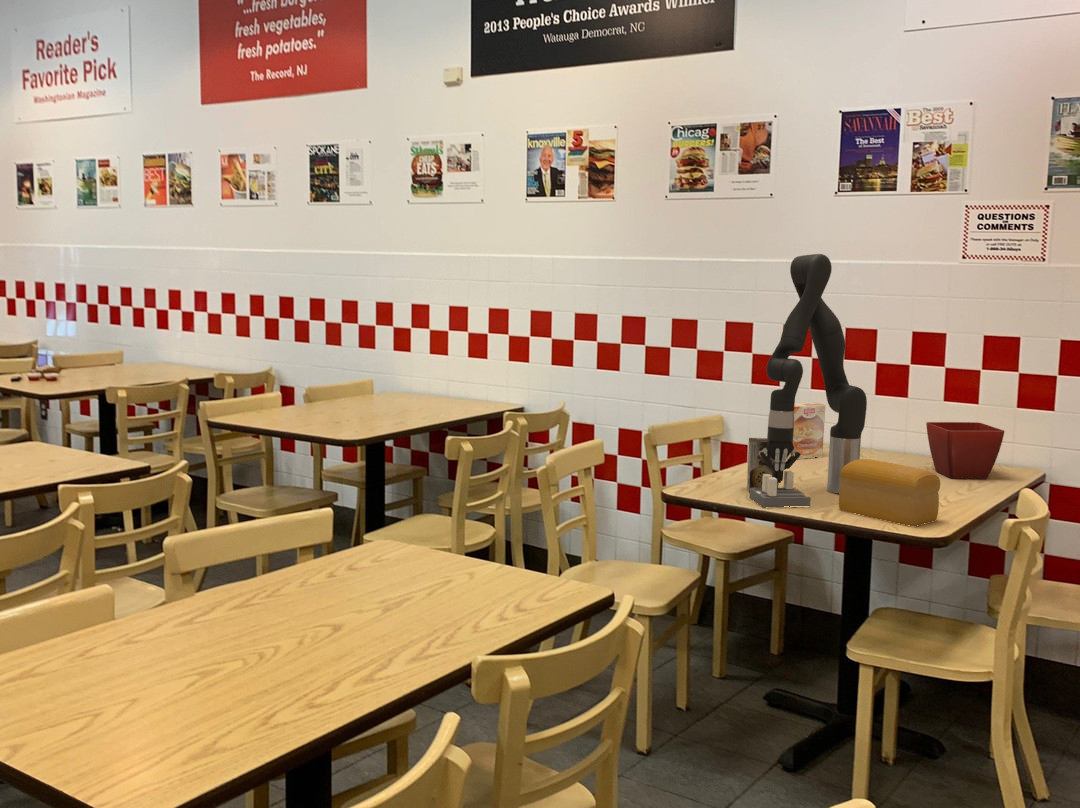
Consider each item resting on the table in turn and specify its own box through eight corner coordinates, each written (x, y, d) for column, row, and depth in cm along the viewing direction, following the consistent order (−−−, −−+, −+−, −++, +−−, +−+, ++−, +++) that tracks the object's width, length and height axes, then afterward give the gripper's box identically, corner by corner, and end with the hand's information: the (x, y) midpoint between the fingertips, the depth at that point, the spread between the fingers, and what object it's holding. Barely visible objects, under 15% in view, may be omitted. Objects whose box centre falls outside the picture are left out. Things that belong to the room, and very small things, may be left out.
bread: (938, 521, 294) (942, 468, 292) (913, 528, 286) (917, 473, 284) (862, 504, 313) (865, 454, 311) (836, 510, 304) (839, 459, 302)
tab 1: (768, 490, 313) (769, 474, 312) (771, 492, 310) (772, 476, 309) (761, 490, 312) (762, 474, 312) (764, 492, 310) (765, 476, 309)
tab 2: (773, 494, 308) (774, 477, 307) (776, 496, 306) (777, 479, 305) (766, 494, 308) (767, 477, 307) (769, 496, 305) (770, 479, 305)
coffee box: (775, 488, 331) (778, 438, 328) (778, 493, 324) (780, 441, 322) (746, 487, 331) (748, 437, 329) (748, 492, 325) (750, 440, 323)
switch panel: (794, 497, 319) (795, 487, 319) (810, 507, 306) (810, 497, 306) (749, 497, 318) (749, 487, 317) (763, 508, 305) (763, 497, 304)
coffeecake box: (790, 460, 378) (792, 406, 375) (777, 456, 384) (780, 403, 382) (823, 457, 384) (826, 404, 381) (810, 454, 390) (813, 401, 388)
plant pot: (921, 469, 366) (925, 421, 364) (976, 469, 367) (979, 421, 364) (944, 481, 347) (948, 430, 345) (1002, 481, 348) (1006, 431, 346)
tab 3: (789, 487, 318) (790, 470, 317) (792, 489, 315) (793, 472, 315) (783, 487, 318) (784, 470, 317) (786, 489, 315) (787, 472, 314)
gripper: (798, 423, 318) (794, 480, 320) (755, 422, 316) (751, 479, 319) (807, 427, 311) (803, 485, 313) (763, 426, 309) (759, 484, 311)
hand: (777, 482), depth 316 cm, fingers closed
